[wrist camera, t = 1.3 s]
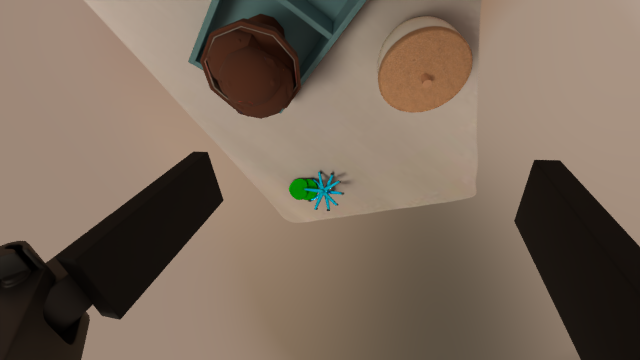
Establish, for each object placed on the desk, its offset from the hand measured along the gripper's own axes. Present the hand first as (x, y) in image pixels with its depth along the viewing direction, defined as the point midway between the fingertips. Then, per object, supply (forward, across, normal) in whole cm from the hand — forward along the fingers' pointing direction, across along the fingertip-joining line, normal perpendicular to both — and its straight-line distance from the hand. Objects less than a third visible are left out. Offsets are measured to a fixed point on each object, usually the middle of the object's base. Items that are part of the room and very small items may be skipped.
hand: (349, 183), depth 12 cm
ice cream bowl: (+29, -16, +4) cm, 34 cm away
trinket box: (+35, +3, 0) cm, 35 cm away
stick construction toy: (+41, -14, -27) cm, 51 cm away
